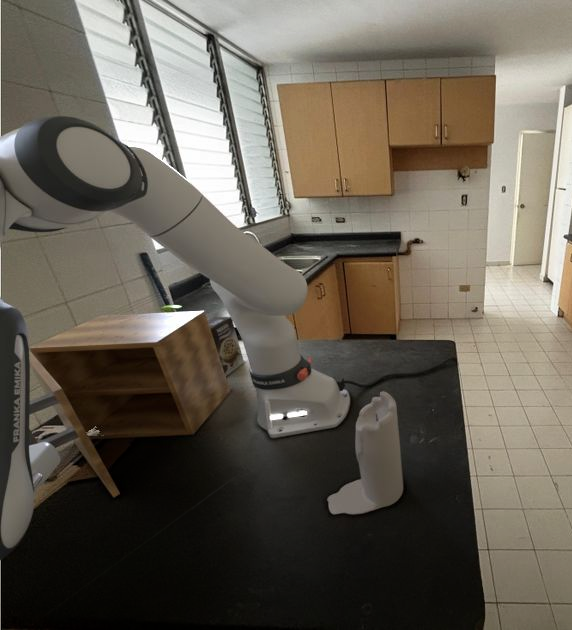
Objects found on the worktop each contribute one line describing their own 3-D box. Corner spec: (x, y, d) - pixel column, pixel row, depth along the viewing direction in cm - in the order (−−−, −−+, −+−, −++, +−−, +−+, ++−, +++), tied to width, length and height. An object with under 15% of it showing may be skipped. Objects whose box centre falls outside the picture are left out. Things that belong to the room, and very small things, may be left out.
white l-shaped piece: (326, 489, 63) (307, 402, 55) (397, 469, 66) (390, 384, 58) (328, 525, 56) (308, 432, 48) (407, 499, 60) (400, 409, 52)
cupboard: (193, 434, 78) (156, 342, 68) (80, 439, 78) (28, 348, 68) (230, 391, 94) (204, 310, 84) (136, 395, 94) (100, 315, 84)
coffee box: (225, 378, 100) (209, 329, 94) (206, 376, 101) (190, 328, 95) (245, 362, 108) (232, 316, 102) (228, 360, 109) (214, 315, 103)
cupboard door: (72, 522, 58) (-2, 412, 49) (38, 460, 72) (-24, 364, 63) (120, 493, 64) (61, 388, 54) (80, 440, 78) (28, 349, 68)
